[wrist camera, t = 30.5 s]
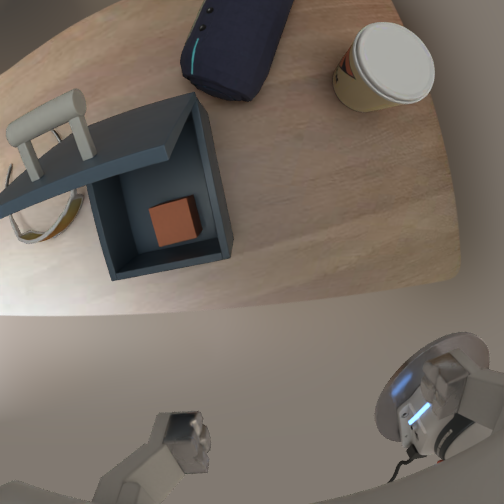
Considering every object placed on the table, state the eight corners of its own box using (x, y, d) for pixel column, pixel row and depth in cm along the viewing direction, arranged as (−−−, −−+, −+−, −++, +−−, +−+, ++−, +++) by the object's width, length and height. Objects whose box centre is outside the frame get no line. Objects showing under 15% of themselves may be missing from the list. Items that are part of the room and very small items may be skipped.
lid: (169, 160, 13) (140, 60, 10) (-19, 228, 14) (-50, 164, 11) (196, 99, 27) (186, 54, 24) (76, 138, 27) (62, 98, 24)
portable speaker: (238, -42, 29) (237, -82, 19) (304, -28, 30) (317, -66, 20) (179, 97, 35) (158, 75, 25) (255, 115, 36) (258, 97, 26)
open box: (234, 239, 40) (230, 258, 31) (136, 259, 40) (111, 281, 32) (207, 112, 36) (196, 96, 27) (109, 140, 36) (77, 135, 28)
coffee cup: (346, 42, 33) (379, 4, 21) (400, 83, 34) (448, 60, 23) (313, 90, 35) (339, 61, 23) (371, 132, 36) (416, 121, 25)
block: (202, 230, 39) (197, 237, 34) (168, 238, 39) (159, 247, 34) (193, 194, 38) (186, 197, 33) (159, 203, 38) (148, 208, 33)
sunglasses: (36, 254, 40) (16, 259, 35) (12, 171, 38) (-8, 169, 33) (100, 213, 38) (80, 214, 33) (70, 123, 37) (51, 116, 32)
